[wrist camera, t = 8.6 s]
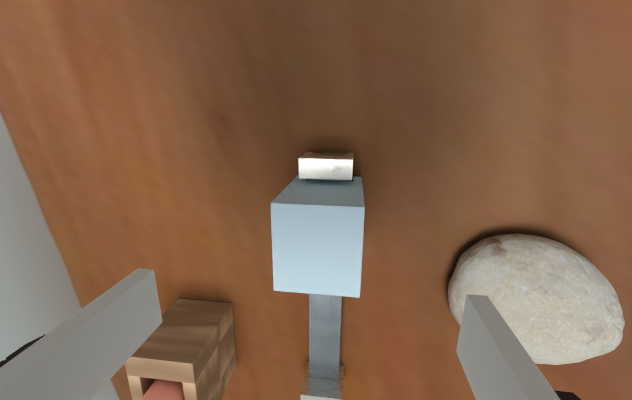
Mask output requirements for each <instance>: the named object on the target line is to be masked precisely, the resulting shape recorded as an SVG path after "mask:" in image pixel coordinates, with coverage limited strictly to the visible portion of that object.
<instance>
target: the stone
mask: <svg viewBox="0 0 632 400" xmlns="http://www.w3.org/2000/svg"><path fill="white" fill-rule="evenodd" d="M466 294H470V295H482V296H488V298H489V299H490V300H491V302H492V303H493V305H494V306H495V308H496V309H497V310H498V312H499V313H500V315H501V316H502V317H503V319H504V320H505V322H506V323H507V325H508V326H509V327H510V329H511V330H512V332H513V333H514V334H515V336H516V337H517V339H518V340H519V342H520V343H521V344H522V346H523V347H524V349H525V350H526V352H527V353H528V354H529V356H530V357H531V359H532V360H533V361H534V363H538V364H553V365H560V364H569V363H573V362H575V363H577V362H581V361H583V360H586V359H589V358H592V357H596V356H599V355H603V354H606V353H609V352H611V351H613V350H615V348H616V347H617V346H618V345H619V344H620V342H621V340H622V336H623V334H622V331H623V328H624V325H625V322H624V318H623V315H622V313H623V312H622V308H621V306H620V303H619V300H618V296H617V293H616V292H615V290H614V288H613V287H612V286H611V284H610V283H609V281H608V280H607V279H606V277H605V276H604V275H603V274H602V273H601V272H600V271H599V270H598V269H597V267H596V266H595V265H594V264H592V263H591V262H590V261H589V260H588V259H586V258H585V257H583V256H582V255H580V254H579V253H577V252H576V251H574V250H572V249H571V248H569V247H568V246H566V245H564V244H562V243H560V242H557V241H555V240H551V239H548V238H544V237H540V236H534V235H527V234H503V235H497V236H492V237H488V238H485V239H482V240H480V241H479V242H477V243H476V244H474V245H473V246H472V247H470V248H469V249H467V250H466V251H465V252H464V253H463V254H462V255H461V256H460V257H459V259H458V262H457V264H456V267H455V270H454V272H453V275H452V277H451V278H450V280H449V283H448V303H449V307H450V311H451V313H452V315H453V317H454V318H455V320H456V321H457V322H458V324H459V325H460V326H461V322H462V316H463V310H464V305H465V299H466Z"/></svg>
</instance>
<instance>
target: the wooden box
mask: <svg viewBox="0 0 632 400" xmlns="http://www.w3.org/2000/svg"><path fill="white" fill-rule="evenodd" d="M125 366H126V371H127V376H128V381H129V386H130V390H131V395H132V400H141V398H142V397H143V396H144V394H145V393H146V392H147V390H148V389H149V388H150V386H151V385H152V384H153V383H154V381H155V380H156V379H161V380H169V381H177V382H182V384H183V391H184V400H220V399H221V397H222V395H223V393H224V391H225V389H226V387H227V385H228V382H229V380H230V378H231V376H232V374H233V372H234V370H235V368H236V366H237V359H236V346H235V334H234V321H233V309H232V303H224V302H213V301H202V300H190V299H178V300H177V301H176V302H175V303H174V304H173V305H172V306H171V307H170V308H169V309H168V310H167V311H166V312H165V313H164V314H163V315H162V323H161V324H160V325H159V326H158V327H157V329H156V330H155V331H154V332H153V333H152V334H151V335H150V336H149V337H148V338H147V339H146V341H145V342H144V343H143V344H142V345H141V346H140V347H139V348H138V349H137V350H136V351H135V353H134V354H133V355H132V356H131V357H130V358H129V359H128V360H127V361H126V362H125Z"/></svg>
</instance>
